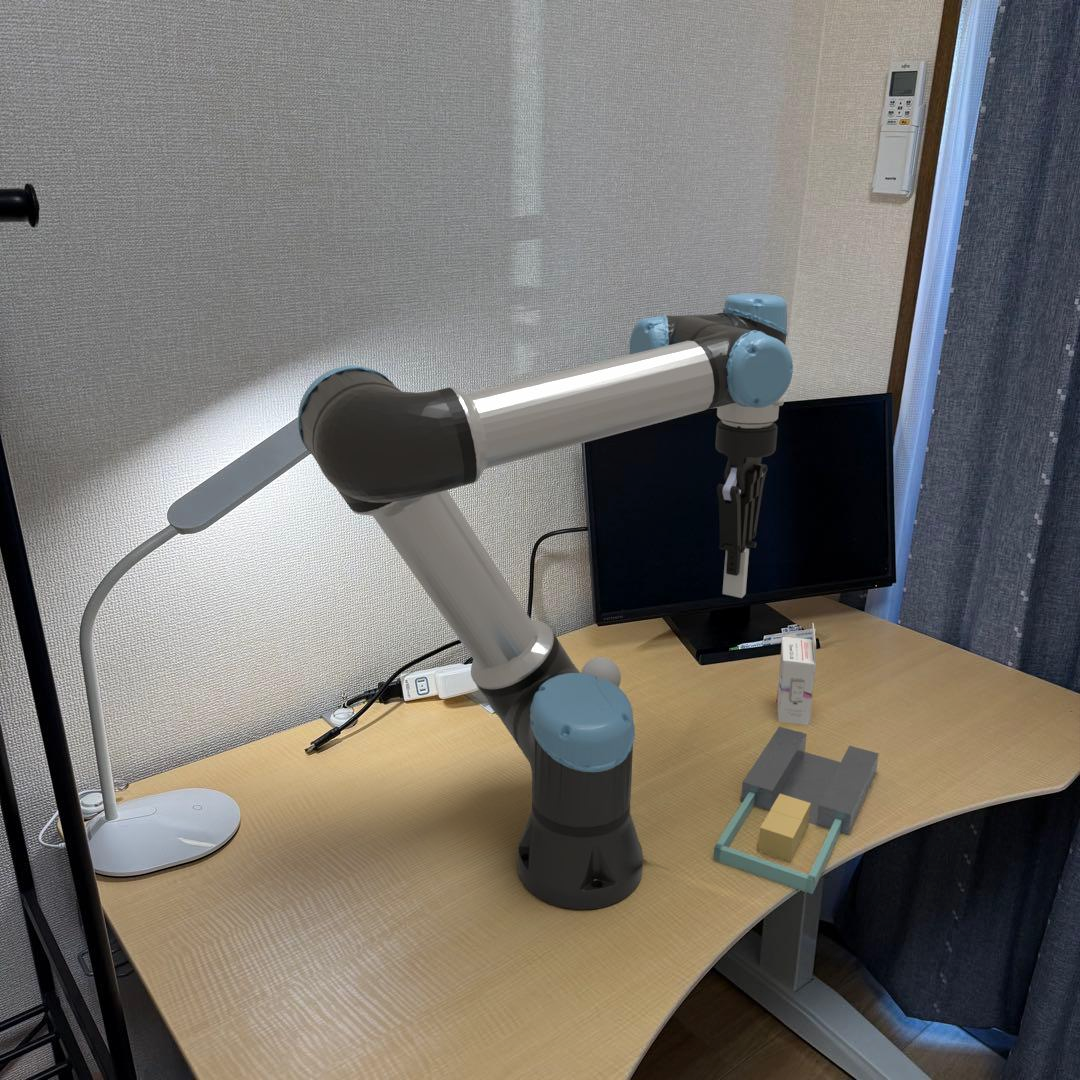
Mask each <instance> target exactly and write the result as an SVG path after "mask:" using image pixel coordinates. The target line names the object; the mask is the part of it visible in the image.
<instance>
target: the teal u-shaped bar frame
mask: <svg viewBox="0 0 1080 1080" xmlns="http://www.w3.org/2000/svg"><path fill="white" fill-rule="evenodd" d="M754 802H755V794H754V793H751V792H749V793H748V795H747V796H746V798H745V799H744V801H743V802H741V804H740V806H739V807H738V809H737V811H735V814H734V815H733V817H732V818H731V820H730V822H729V823H728V825H727V827H726V828H725V830H724V831H723V832H722V834H721V836H720V837H719V839H718V840H717V842H716V844H715V845H714V847H713V861H715V862H718V863H722V864H725V865H727V866H729V867H733V868H736V869H739V870H741V871H745V872H747V873H750V874H753V875H756V876H759V877H762V878H764V879H767V880H769V881H773V882H776V883H779V884H781V885H784V886H787V887H791V888H793V889H795V890H798V891H801V892H804V893H807V894H810V895H813V893H814V891H815V890H816V887H817V885H818V882H819V880H820V878H821V876H822V875H823V872H824V869H825V867H826V865H827V862H828V860H829V858H830V856H831V855H832V852H833V850H834V847H835V845H836V843H837V841H838V839H839V837H840V835H841V833H840V831H841V823H842V820H839V819H836V818H835V820H834V823H833V825H832V827H831V829H829V831H828V833H827V835H826V837H825V840H824V842H823V844H822V845H821V848H820V850H819V852H818V854H817V857H816V859H815V860H814V863H813V865H812V868H811V870H810V871H809V873H808V874H807V873H805V872H802V871H799V870H796V869H793V868H790V867H787V866H785V865H784V866H783V865H781V864H778V863H776V862H773V861H769V860H768V859H767V860H766V859H763V858H760V857H758V856H754V855H752V854H749V853H746V852H743V851H739V850H738V849H734V848H731V847H730V846H731V844H732V843H733V841H734V839H735V838H736V836H737V834H738V833H739V831H740V829H741V828H742V826H743V825H744V823H745V821H746V820H747V818H748V817H749V815H750V813H752V810H753V808H754V807H755V806H754Z"/></svg>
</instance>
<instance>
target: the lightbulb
mask: <svg viewBox="0 0 1080 1080" xmlns="http://www.w3.org/2000/svg"><path fill="white" fill-rule="evenodd" d="M580 673H585V674H591V675H595V676H596V677H597V680H601V679H606V680H608V681H610V682H612V683H613V684H615V685H616V686H618V687H619V688H620V685H621V681H622V674H621V670H620V668H619V666H618V665H617V664H616V663H615V661H613V660H612V659H610V658H608V657H604V656H601V657H600V656H598V657H593V658H591V659H589V660H588V661H587V662H586V663H585V664H584V665H583V667H582V669H581V672H580Z"/></svg>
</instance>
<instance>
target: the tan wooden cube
mask: <svg viewBox="0 0 1080 1080" xmlns="http://www.w3.org/2000/svg"><path fill="white" fill-rule="evenodd" d="M801 827H802V820H800V819H797V818H794V817H790V816H787V815H784V814H781V813H778V812H775V811H771V810H770V811H769V812H768V814H767V815H766V817H765V819H764V820H763V822H762V824H761V825H760V827H759V837H758V848H757V852H760V853H763V854H765V855H768V856H771V857H773V858H774V857H775V858H777V859H781V860H784V861H786V862H788V863H789V862H792V859H793V858H794V855H795V853H796V852H797V849H798V848H799V846H800V842H801V841H800V836H801Z"/></svg>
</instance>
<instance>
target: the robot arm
mask: <svg viewBox="0 0 1080 1080" xmlns="http://www.w3.org/2000/svg"><path fill="white" fill-rule="evenodd" d="M724 301H725V302H724V306H723V308H722V312H718V313H714V314H691V315H690V314H688V315H687V314H685V315H682V314H681V315H666V314H662V315H660V316H654V317H652V316H651V317H645V318H642V319H639V320H638V321H637V322H636V324H634V327H633V328H632V332H631V334H630V338H629V351H628V353H629V354H628V355H623V356H619V357H614V358H611V359H610V358H609V359H606V360H601V361H598V362H595V363H593V362H592V363H590V364H585V365H581V366H577V367H574V368H573V367H572V368H569V369H566V370H560V371H557V372H552V373H549V374H544V375H540V376H535V377H532V378H527V379H523V380H518V381H515V382H511V383H506V384H501V385H498V386H494V387H490V388H486V389H482V390H477V391H473V392H470V393H469V392H468V393H463V392H462V391H460V390H459V389H457V388H455V387H453V386H450V387H446V388H445V387H444V388H441V389H437V390H431V391H424V392H423V391H422V392H414V391H413V392H412V391H402V390H401V389H399V388H398V386H396V385H395V384H394V383H393V381H391V380H390V379H389V378H388V377H387V375H384V374H383V373H381V372H380V371H378V370H375V369H373V368H370V367H363V366H359V365H358V366H356V365H346V366H339V367H336V368H332V369H330V370H328V371H325V372H324V373H322V374H321V375H319V376H318V377H317V378H316V379H314V381H312V382H311V383H310V385H309V386H308V387H307V389H306V390H305V392H304V393H303V396H302V398H301V399H300V403H299V407H298V413H297V423H298V424H297V426H298V428H297V429H298V430H299V437H300V440H301V443H302V444H303V446H304V447H305V449H306V450H307V451H308V452H309V451H310V452H309V453H310V454H311V456H313V458H314V460H315V461H316V463H317V465H318V466H319V469H320V470H321V472H322V474H323V475H324V477H325V478H326V480H328V482H329V483H330V484H331V485H332V486H333V487H334V488H335V489H336V490H337V492H338V494H340V496H341V497H342V498H343V500H344V501H345V503H346V504H347V506H349V509H350V510H351V511H352V512H353V513H354V514H357V515H361V516H370V517H372V518H373V519H374V520H375V521H376V523H377V524H378V525H379V527H380V529H381V530H382V531H383V533H384V534H385V535H386V538H388V540H389V541H390V543H391V545H393V547H394V549H395V550H396V552H397V553H398V554H399V556H400V557H401V558H402V560H403V561H404V562H405V564H406V566H407V567H408V568H409V570H410V571H411V573H412V574H413V576H414V577H415V579H416V580H417V581H418V583H419V584H420V585H421V587H422V588H423V590H424V592H425V593H426V594H427V595H428V597H429V598H430V600H431V601H432V603H433V604H434V606H435V607H436V608H437V610H438V611H439V613H440V614H441V615H442V617H443V618H444V620H445V621H446V622H447V624H448V625H449V627H450V628H451V629H452V630H453V632H454V634H455V635H456V637H457V638H458V640H459V642H461V644H462V646H463V647H464V648H465V650H466V651H467V652H468V653H469V656H471V658H472V659H473V660H472V663H471V667H470V675H471V679H472V681H473V682H474V684H475V685H476V687H477V688H478V689H479V691H480V692H481V694H482V695H483V696H484V698H485V699H486V701H487V703H488V705H489V706H490V708H491V709H492V711H493V712H494V714H496V716H497V717H498V718H499V720H501V722H502V723H503V725H504V726H505V728H506V729H507V731H508V732H509V734H510V735H511V737H512V739H513V740H514V741H515V743H516V744H517V746H518V748H519V749H520V750H521V752H522V754H523V755H524V757H525V758H526V759H527V761H528V763H529V765H530V769H531V771H530V772H531V811H530V814H529V817H528V819H527V822H526V825H525V827H524V830H523V832H522V835H521V838H520V841H519V843H518V845H517V846H518V847H517V873H518V877H519V878H520V881H521V882H522V884H523V886H524V887H525V888H526V889H527V890H528V891H529V892H530V893H531V894H532V895H534V896H535V897H537V898H538V899H540V900H542V901H544V902H546V903H548V904H550V905H553V906H557V907H560V908H563V909H564V908H565V909H572V910H592V909H599V908H603V907H608V906H611V905H613V904H616V903H619V902H620V901H622V900H623V899H625V898H627V897H628V896H629V895H630V894H632V893H633V892H634V891H635V890H636V888H637V887H638V885H639V883H640V881H641V878H642V875H643V864H644V863H643V860H644V859H643V857H644V856H643V855H644V854H643V848H642V844H641V842H640V841H639V840H640V839H639V836H638V834H637V831H636V827H635V825H634V822H633V821H634V820H633V819H632V816H631V800H632V799H631V796H632V793H631V792H632V779H633V778H632V774H633V755H634V752H633V751H634V743H635V737H636V734H635V733H636V731H635V730H636V728H635V723H634V713H633V707H632V704H631V702H630V700H629V698H628V696H627V695H626V693H625V692H624V691H623V690H622V689H621V688H620V686H619V687H618V686H616V685H615V684H613V683H612V682H610V681H608V680H606V679H601V680H597V677H596V676H595V675H591V674H585V673H581V672H580V671H579V669H578V668H577V666H576V665H575V664H574V663H573V660H572V659H571V658H570V656H569V655H568V653H567V652H566V650H565V648H564V647H563V646H562V644H561V642H560V641H559V639H558V638H557V635H556V634H555V633H554V632H553V630H552V628H551V626H549V625H548V624H547V623H546V622H543V621H540V620H536V619H535V620H534V619H533V620H532V619H531V617H530V616H529V615H528V614H527V612H526V610H525V609H524V607H523V605H522V603H521V602H520V601H519V599H518V598H517V596H516V595H515V593H514V592H513V590H512V588H511V586H510V585H509V584H508V581H506V579H505V577H504V576H503V575H502V573H501V572H500V570H499V569H498V567H497V565H496V564H495V562H494V561H493V559H492V557H491V555H490V554H489V552H488V551H487V550H486V548H485V547H484V544H483V543H482V542H481V541H480V539H479V537H478V536H477V534H476V532H475V531H474V530H473V528H472V526H471V525H470V523H469V522H468V520H467V519H466V517H465V516H464V514H463V513H462V511H461V509H460V508H459V506H458V505H457V503H456V501H455V500H454V498H453V497H452V495H451V494H450V492H449V490H453V489H457V488H460V487H463V486H468V485H471V484H474V483H477V482H479V479H480V478H481V475H482V474H483V473H484V471H485V470H486V469H487V470H488V469H492V468H494V467H498V466H502V465H505V464H510V463H513V462H516V461H521V460H524V459H528V458H532V457H536V456H538V455H543V454H546V453H550V452H554V451H558V450H561V449H565V448H570V447H572V446H573V447H574V446H577V445H580V444H583V443H587V442H592V441H595V440H599V439H603V438H606V437H610V436H614V435H618V434H621V433H624V432H628V431H633V430H636V429H637V430H638V429H640V428H643V427H647V426H651V425H654V424H655V425H656V424H658V423H663V422H666V421H670V420H673V419H677V418H682V417H685V416H688V415H693V414H696V413H699V412H703V411H707V410H711V409H715V408H717V409H716V416H717V417H718V418H719V419H720V420H719V421H718V422H717V423H716V430H715V432H716V433H715V447H714V448H715V449H716V451H718V452H719V453H720V454H723V455H725V456H726V457H727V461H726V462H727V463H726V465H725V467H724V469H723V480H724V484H721V483H719V484H717V486H716V495H717V499H718V520H719V521H718V524H719V525H718V526H719V527H718V528H719V530H718V531H719V545H718V548H719V549H720V550H724V551H725V553H724V554H725V555H724V556H725V557H724V566H723V567H724V570H723V584H722V595H726V596H731V597H735V598H739V599H743V597H744V596H745V595H746V594H747V579H748V570H749V569H748V568H749V556H750V548H752V549H756V548H757V544H758V543H757V541H752V539H755V538H756V536H757V528H758V524H759V515H760V510H761V509H760V508H761V503H762V496H763V490H764V483H765V479H766V475H767V472H768V465H767V464H762V459H763V458H765V457H766V458H767V457H769V456H771V455H773V454H774V453H775V452H776V450H777V439H778V438H777V437H778V428H779V427H778V425H777V424H776V423H775V422H776V421H777V420H778V419H779V412H780V406H781V407H782V406H783V405H784V403H785V401H784V398H782V397H783V396H784V395H785V393H786V392H787V390H788V388H789V387H790V384H791V382H792V379H793V374H794V373H793V372H794V370H793V369H794V365H793V358H792V354H791V352H790V350H789V348H788V347H787V346H786V341H787V336H788V331H787V327H788V304H787V302H786V300H785V299H784V298H783V297H781V296H779V295H774V294H767V293H736V294H731V295H728V296H727V297H726V298H725V300H724Z"/></svg>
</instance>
